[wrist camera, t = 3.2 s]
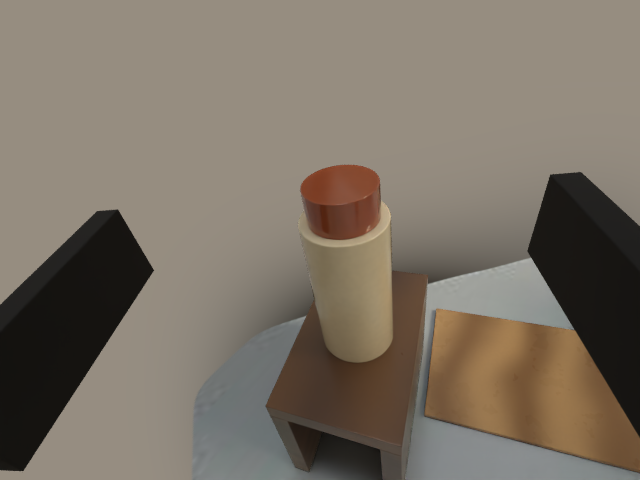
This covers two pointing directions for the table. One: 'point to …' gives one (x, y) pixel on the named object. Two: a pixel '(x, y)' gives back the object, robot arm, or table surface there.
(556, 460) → the table surface
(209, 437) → the table surface
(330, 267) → the spice bottle
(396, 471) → the shelf
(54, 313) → the robot arm
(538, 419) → the cork mat
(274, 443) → the table surface
